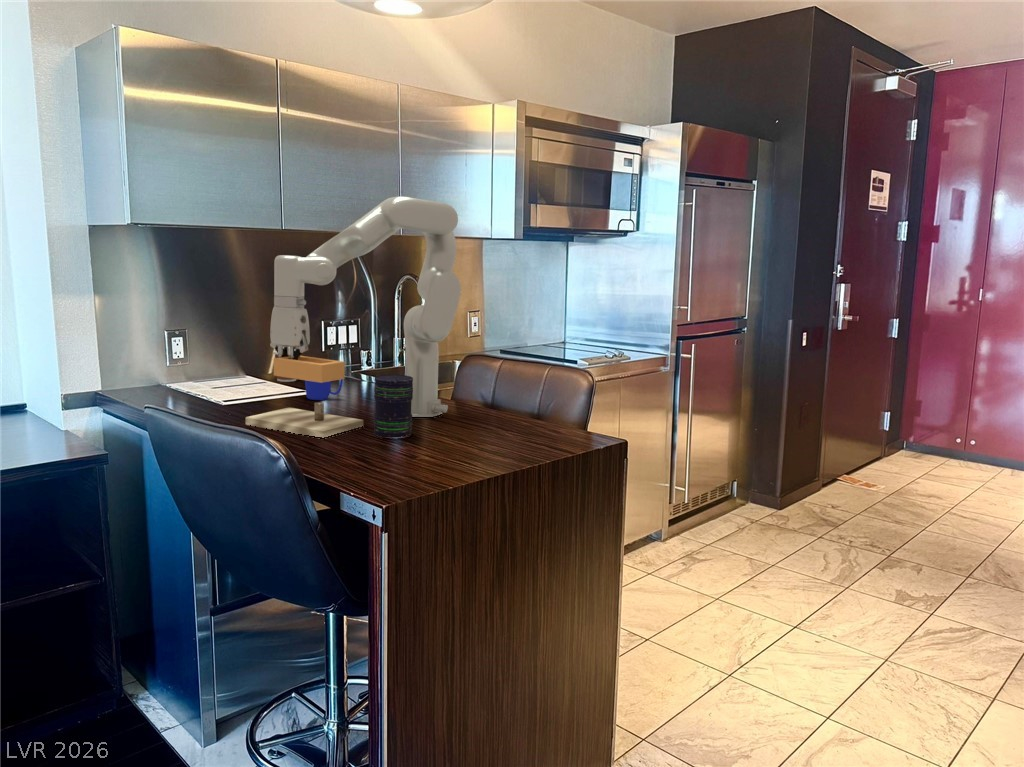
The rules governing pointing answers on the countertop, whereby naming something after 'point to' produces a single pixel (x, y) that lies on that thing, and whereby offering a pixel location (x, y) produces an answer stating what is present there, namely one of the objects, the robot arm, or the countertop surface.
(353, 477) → the countertop surface
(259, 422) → the backing board
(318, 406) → the round metal post
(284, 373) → the orange rectangular frame
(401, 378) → the storage jar
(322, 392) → the mug
